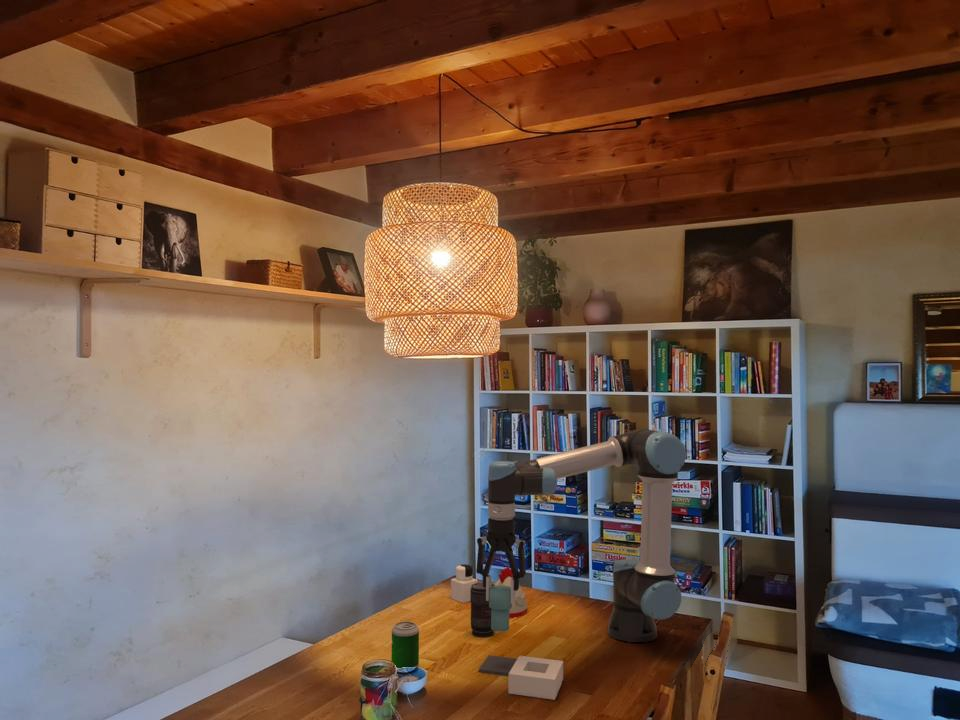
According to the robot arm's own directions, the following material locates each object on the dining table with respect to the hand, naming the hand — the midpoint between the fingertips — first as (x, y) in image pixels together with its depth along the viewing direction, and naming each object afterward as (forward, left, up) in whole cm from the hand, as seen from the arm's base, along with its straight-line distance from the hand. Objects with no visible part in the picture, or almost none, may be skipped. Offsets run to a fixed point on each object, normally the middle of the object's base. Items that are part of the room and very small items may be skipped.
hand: (500, 600), depth 196 cm
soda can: (+25, +9, -19) cm, 32 cm away
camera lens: (+12, -23, -19) cm, 32 cm away
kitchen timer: (+10, -45, -19) cm, 50 cm away
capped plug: (0, +1, -8) cm, 8 cm away
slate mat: (0, 0, -18) cm, 18 cm away
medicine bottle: (+28, -53, -19) cm, 63 cm away
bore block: (-12, +9, -18) cm, 24 cm away
